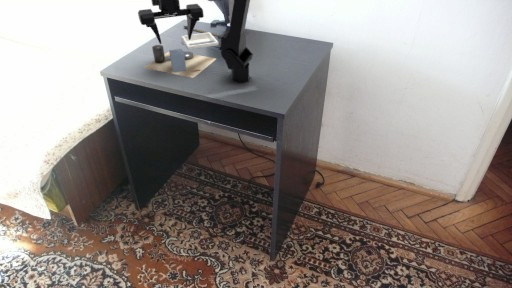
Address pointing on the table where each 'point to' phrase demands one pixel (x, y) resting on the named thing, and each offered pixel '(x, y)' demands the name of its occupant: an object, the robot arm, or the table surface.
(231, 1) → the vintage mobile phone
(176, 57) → the block
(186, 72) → the crank plate
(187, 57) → the crank
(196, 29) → the tactical tomahawk
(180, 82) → the table surface
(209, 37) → the tray
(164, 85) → the table surface
